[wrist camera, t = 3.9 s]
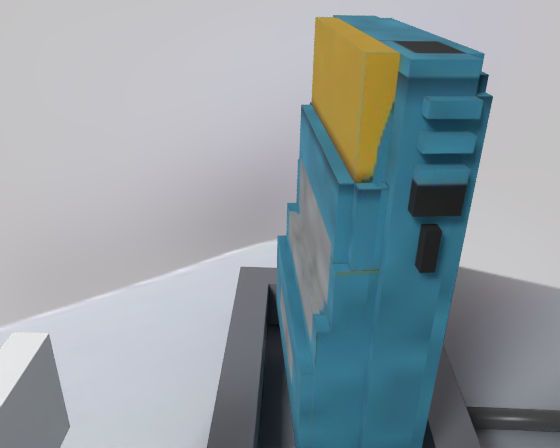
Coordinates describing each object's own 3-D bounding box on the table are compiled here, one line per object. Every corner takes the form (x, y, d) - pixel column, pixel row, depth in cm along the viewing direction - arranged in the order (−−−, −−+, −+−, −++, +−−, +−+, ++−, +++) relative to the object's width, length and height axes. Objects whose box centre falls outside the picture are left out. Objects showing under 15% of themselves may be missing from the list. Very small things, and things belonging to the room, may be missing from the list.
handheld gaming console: (421, 532, 17) (527, 62, 10) (296, 541, 17) (322, 62, 10) (357, 340, 26) (392, 15, 19) (274, 343, 26) (279, 13, 19)
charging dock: (575, 315, 28) (588, 275, 27) (836, 652, 14) (885, 600, 13) (241, 303, 28) (241, 264, 27) (189, 621, 15) (184, 569, 14)
